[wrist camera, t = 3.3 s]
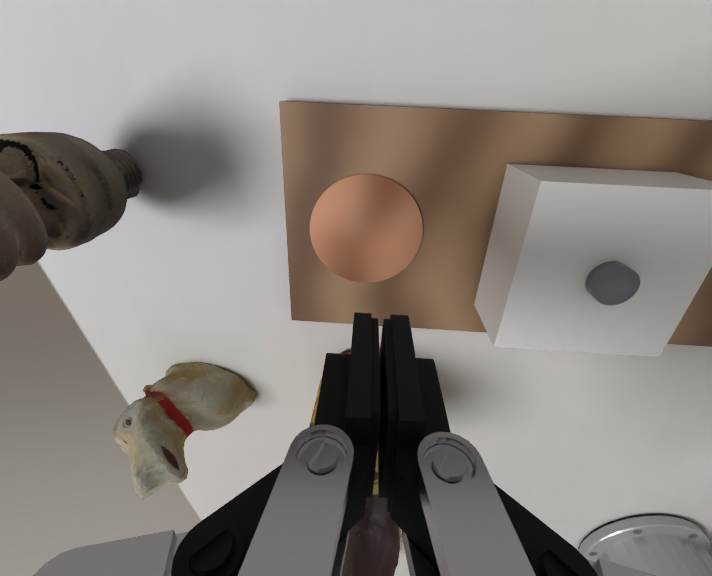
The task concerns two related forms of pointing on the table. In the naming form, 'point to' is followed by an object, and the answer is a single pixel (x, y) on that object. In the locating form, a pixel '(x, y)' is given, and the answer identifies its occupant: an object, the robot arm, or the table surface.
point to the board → (441, 200)
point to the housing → (594, 258)
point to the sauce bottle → (371, 534)
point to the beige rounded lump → (177, 420)
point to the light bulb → (58, 194)
